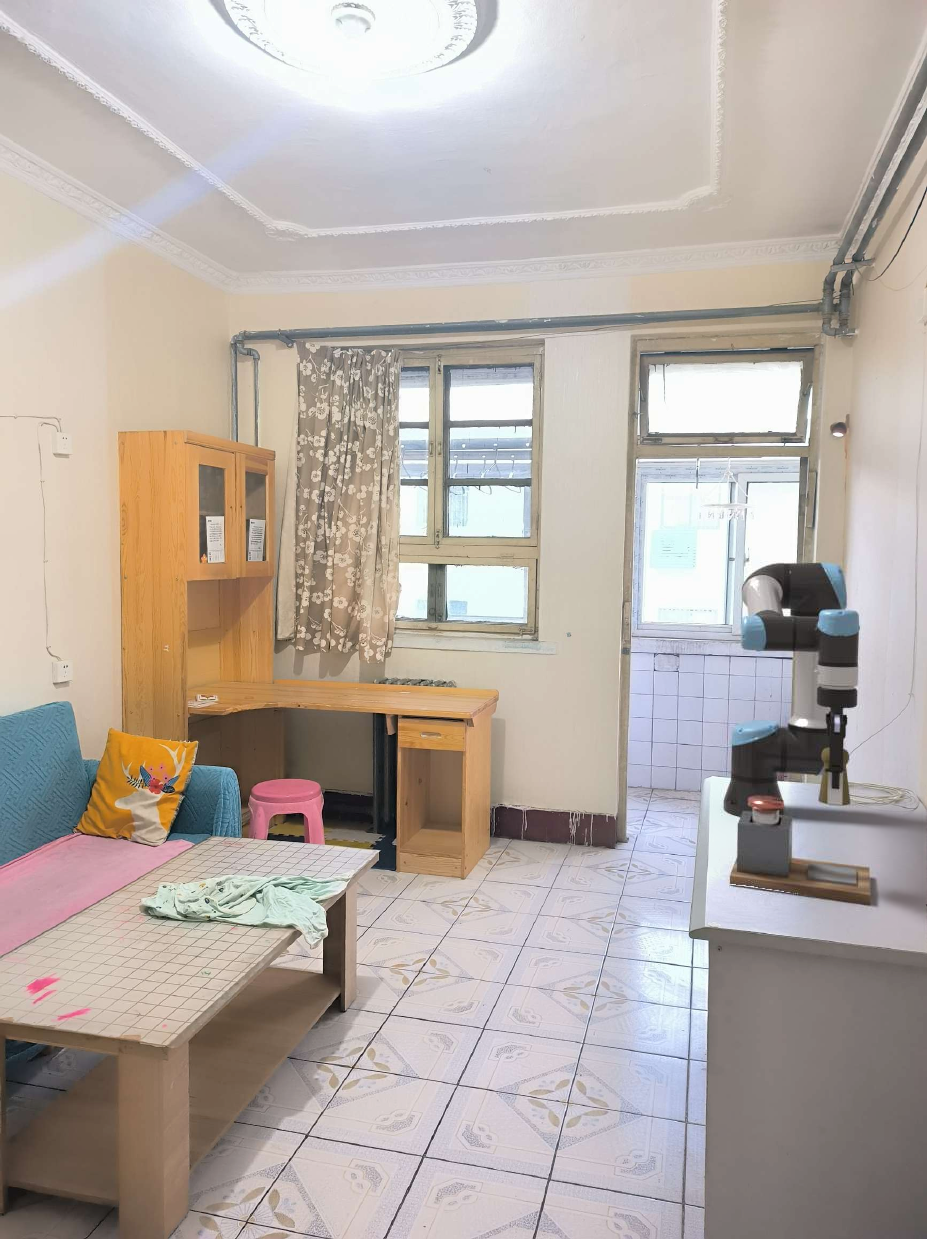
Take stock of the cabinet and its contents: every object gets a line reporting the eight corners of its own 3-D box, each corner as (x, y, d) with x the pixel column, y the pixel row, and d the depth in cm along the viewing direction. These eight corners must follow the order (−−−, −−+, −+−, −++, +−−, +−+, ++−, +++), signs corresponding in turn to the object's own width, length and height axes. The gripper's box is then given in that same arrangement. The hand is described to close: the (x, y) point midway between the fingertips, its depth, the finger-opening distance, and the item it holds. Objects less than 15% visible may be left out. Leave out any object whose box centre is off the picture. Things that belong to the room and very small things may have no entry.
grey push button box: (742, 856, 191) (743, 810, 190) (791, 862, 187) (792, 816, 186) (736, 871, 182) (737, 823, 181) (788, 878, 178) (789, 829, 177)
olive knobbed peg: (852, 806, 175) (853, 751, 174) (819, 804, 177) (820, 750, 176) (848, 798, 181) (849, 745, 180) (816, 796, 182) (818, 744, 182)
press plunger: (749, 836, 188) (750, 794, 188) (784, 840, 185) (785, 797, 185) (745, 846, 182) (746, 802, 181) (781, 850, 179) (782, 806, 178)
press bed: (739, 860, 194) (739, 848, 194) (869, 876, 183) (869, 864, 183) (729, 885, 179) (729, 872, 179) (870, 905, 169) (870, 891, 169)
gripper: (816, 679, 187) (814, 787, 189) (817, 692, 170) (814, 810, 171) (855, 681, 184) (852, 790, 186) (859, 694, 167) (856, 814, 168)
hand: (834, 799), depth 179 cm, fingers closed on olive knobbed peg, 6 cm apart
